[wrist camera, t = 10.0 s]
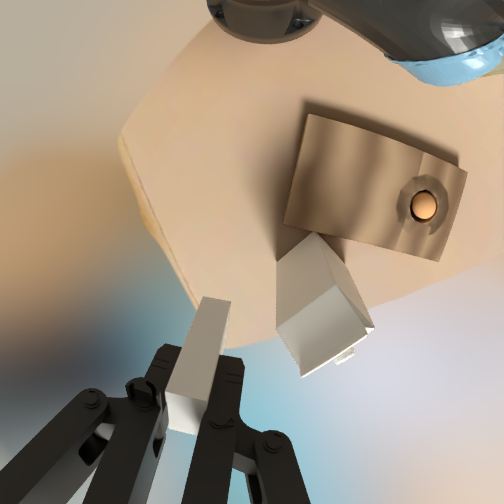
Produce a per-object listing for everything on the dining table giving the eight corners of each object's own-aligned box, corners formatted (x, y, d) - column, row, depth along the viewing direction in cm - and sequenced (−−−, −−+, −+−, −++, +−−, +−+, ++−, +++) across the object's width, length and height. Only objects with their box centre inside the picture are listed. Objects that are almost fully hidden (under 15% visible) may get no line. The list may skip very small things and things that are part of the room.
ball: (411, 189, 33) (436, 191, 31) (412, 193, 36) (435, 195, 34) (410, 216, 33) (436, 219, 31) (411, 218, 36) (434, 220, 34)
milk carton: (275, 262, 40) (274, 357, 23) (314, 229, 38) (344, 309, 21) (308, 294, 42) (323, 394, 24) (345, 264, 40) (386, 355, 22)
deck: (283, 219, 38) (283, 224, 35) (306, 115, 32) (308, 113, 30) (431, 255, 38) (438, 262, 36) (458, 169, 32) (467, 172, 30)
